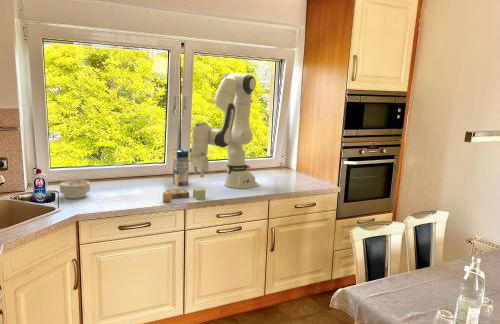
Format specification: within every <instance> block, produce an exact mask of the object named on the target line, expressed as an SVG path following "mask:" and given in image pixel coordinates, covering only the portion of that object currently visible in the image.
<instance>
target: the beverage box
mask: <svg viewBox="0 0 500 324" xmlns="http://www.w3.org/2000/svg"><path fill="white" fill-rule="evenodd" d="M172 151H173V152H172V153H173V154H172V157H173V158H172V160H173V161H172V162H173V164H172V166H173V171H172V173H173V174H172V178H173V179H172V181H173V183H174V185H176V186H177V187H182V186H189V163H190V152H189V150H186V149H184V148H174V149H172Z"/></svg>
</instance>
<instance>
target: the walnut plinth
mask: <svg viewBox="0 0 500 324" xmlns="http://www.w3.org/2000/svg"><path fill="white" fill-rule="evenodd" d="M166 192H171V200H172V199H173V200H174V199H183V198H190V192H189V191H187V190H186V189H185V188H174V189H173V188H172V189H166Z"/></svg>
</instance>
